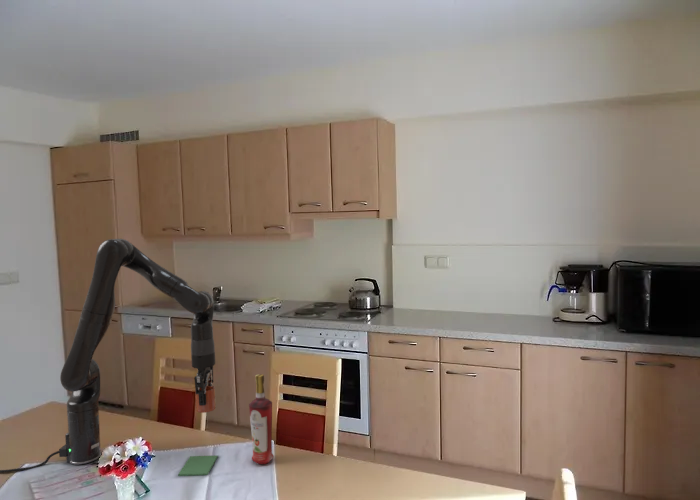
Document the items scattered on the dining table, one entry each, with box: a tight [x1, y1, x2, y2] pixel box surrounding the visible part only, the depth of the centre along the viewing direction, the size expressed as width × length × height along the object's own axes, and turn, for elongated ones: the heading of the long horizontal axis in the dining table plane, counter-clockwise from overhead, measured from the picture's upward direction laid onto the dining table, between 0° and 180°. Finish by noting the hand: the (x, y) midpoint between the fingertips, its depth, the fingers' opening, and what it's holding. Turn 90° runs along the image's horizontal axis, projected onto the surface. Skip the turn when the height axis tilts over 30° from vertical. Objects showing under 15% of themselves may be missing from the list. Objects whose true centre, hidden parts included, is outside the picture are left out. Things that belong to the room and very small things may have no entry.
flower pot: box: [194, 385, 217, 414], centre depth 165 cm, size 6×6×7 cm
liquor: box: [248, 373, 274, 465], centre depth 159 cm, size 7×7×28 cm
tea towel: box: [177, 455, 219, 477], centre depth 158 cm, size 9×12×1 cm
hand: (205, 401), depth 165 cm, fingers closed on flower pot, 6 cm apart
